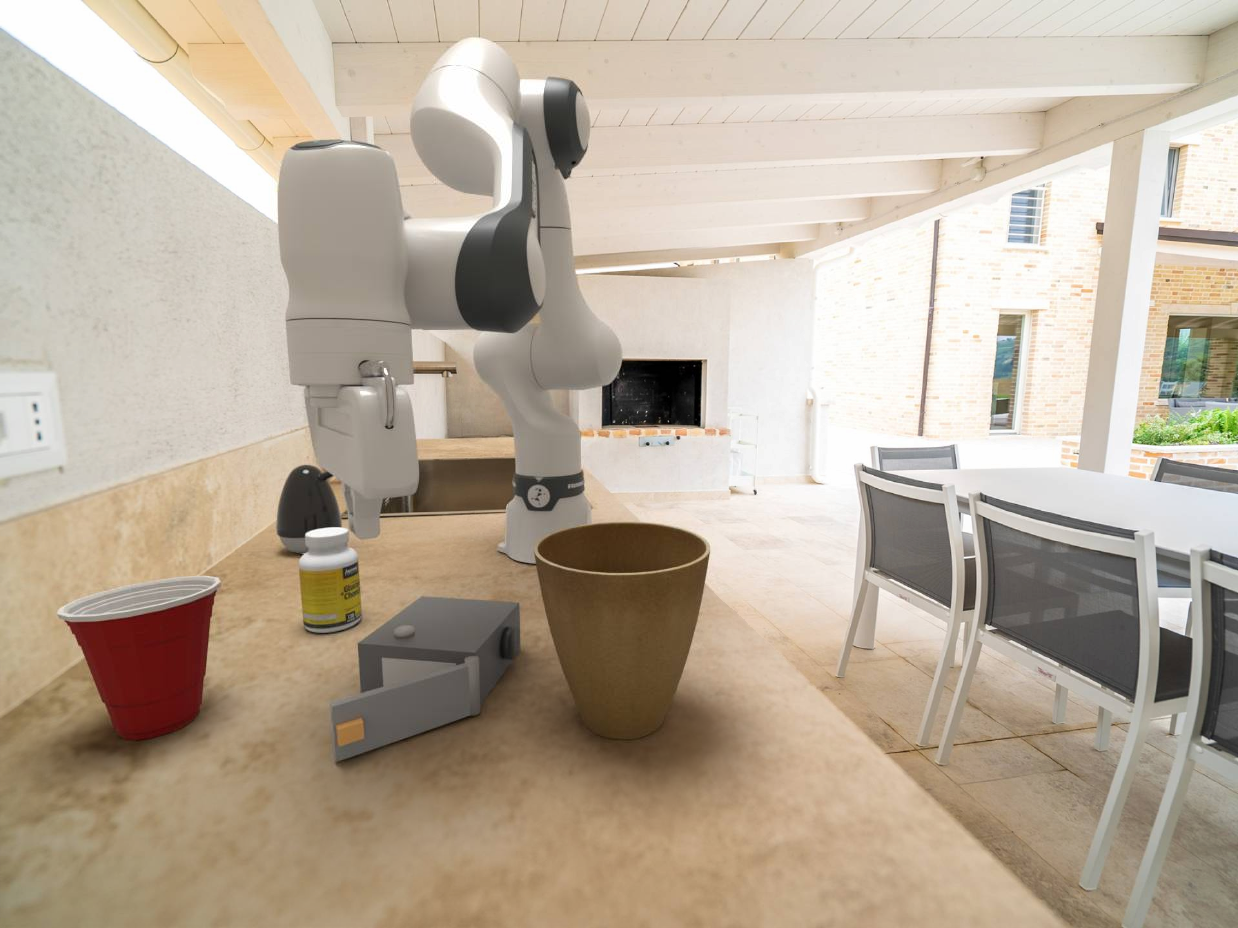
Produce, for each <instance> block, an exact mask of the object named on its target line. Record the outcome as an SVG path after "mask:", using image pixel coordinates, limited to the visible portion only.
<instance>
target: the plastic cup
mask: <svg viewBox="0 0 1238 928" xmlns="http://www.w3.org/2000/svg"><path fill="white" fill-rule="evenodd" d="M220 587H221V580H220V577H216V576H211V575H210V576H209V575H194V576H193V575H191V576H189V575H188V576H178V577H171V578H161V579H156V580H150V581H144V582H139V583H133V584H128V585H124V586H120V587H116V588H112V589H107V590H104V591H100V592H97V593H94V594H89V595H87V596H84V597H81V598H77V599H75V600H73V601H71V602H69V603H66V604H65V605H63V606H60V607H59V609H58V611H57V612H56V616H57V617H58V619H59V620H63V621H64V623H66V625H67V627H69V629H70V632H71V633H72V635H74V637H75V640H76V642H77V645H78V646H79V647H80V648H81V651H82V653H83V656H84V659H85V661H86V664H87V667H88V669H89V671H90V674H91V677H92V680H93V681H94V685H95V687H96V689H97V693H98V694H99V696H100V700H101V702H102V703H103V704H104V706H105V708H106V710H107V713H108V716H109V719H110V722H111V724H112V727H113V729H114V730H115V731H116V733H117V735H118V736H119V737H120V738H122V739H124V740H132V741H138V740H146V739H152V738H156V737H159V736H160V737H161V736H163V735H166V734H169V733H172V732H174V731H176V730H179V729H180V728H183V727H185V726H186V725H187V724H189V723H190V722H192V721H193V720H195V719H196V717H197V716H198V715H199V713H200V711H201V706H202V704H203V703H202V702H203V695H204V694H203V693H204V680H205V677H206V671H207V661H208V651H209V639H210V629H211V619H212V617H213V606H214V605H215V597H216V595H217V591H218V589H219V588H220Z"/></svg>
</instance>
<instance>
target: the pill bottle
mask: <svg viewBox="0 0 1238 928" xmlns="http://www.w3.org/2000/svg"><path fill="white" fill-rule="evenodd" d="M349 541H350V533H349V528H345V527H342V528H341V527H330V528H321V529H316V530H312V531H309V532H307V533H306V534H305V543H306V546H307V547H308V548H309V551H308V552H307V553H305V554H302V556H301V557H300V559H299V562H298V574H299V585H300V599H301V609H302V621H303V622H302V623H303V627H304V628H305V629H306V630H308V631H309V632H313V633H318V634H319V633H320V634H323V633H324V634H326V633H334V632H339V631H343V630H346V629H348V628H351V627H354V625H356V624H357V623H358V622H360V620H361V618H362V615H363V614H362V612H363V611H362V598H361V597H362V596H361V583H360V568H359V566H360V565H359V555H358V553H357V551H356V550H355V549H354V548H352V547H349V546H348V543H349Z"/></svg>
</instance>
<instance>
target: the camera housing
mask: <svg viewBox="0 0 1238 928" xmlns="http://www.w3.org/2000/svg"><path fill="white" fill-rule="evenodd" d="M520 609H521V607H520V602H518V601H504V600H503V601H502V600H501V601H500V600H488V599H487V600H486V599H473V598H472V599H470V598H456V597H442V596H441V597H440V596H426V595H425V596H424V595H422V596H420V597H419V598H418V599H416V600H415V601H413V602H411V604H409V605H408V606H406V607H405V608H404V609H402V610H401V611H400V612H398V613H397V614H395V615H394V616H393V617H391V618H390V619H389V620H388V621H386V622H385V623H383V624H382V625H380V626H379V627H377V628H376V629H375V630H373V632H371V633H369V634H368V635H367V636H366V637H364V638H363V639H362V640H359V641H358V642H357V654H358V668H359V671H358V672H359V684H360V693H363V692H367V691H370V690H374V689H377V688H381V687H384V686H387V685H391V684H394V683H398V682H401V681H405V680H408V679H411V678H415V677H418V676H422V675H425V674H429V673H432V672H435V671H439V670H442V669H446V668H449V667H453V666H456V665H460V664H463V663H465V658H466V657H468V656H477V657H478V658H479V684H480V706H481V705H482V704H483V703H484V701H485V700H486V699H487V697H488V695H490V693H491V692H492V690H493V689H494V687H495V686H496V685H497V683H498V682H499V680H500V679H501V677H502V676H503V675H504V673H505V672H506V671H507V669H508V668H509V667H510V665H511V664H512V662H513V661H514V660H516V658H517V656H518V654H519V653H520V651H521V648H522V647H521V617H520V616H521V614H520Z"/></svg>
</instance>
